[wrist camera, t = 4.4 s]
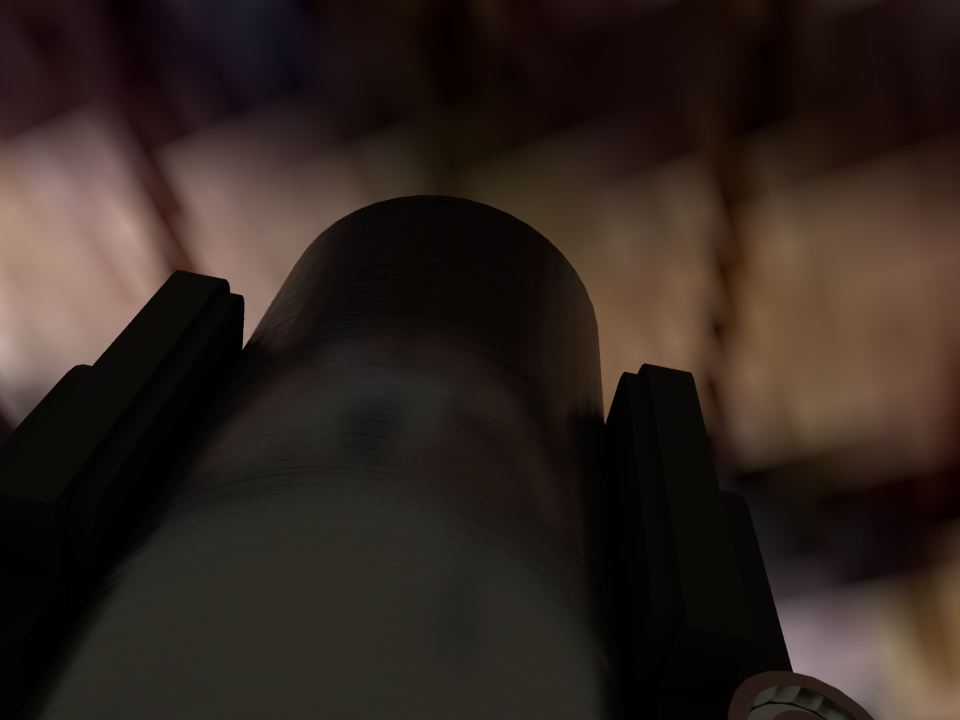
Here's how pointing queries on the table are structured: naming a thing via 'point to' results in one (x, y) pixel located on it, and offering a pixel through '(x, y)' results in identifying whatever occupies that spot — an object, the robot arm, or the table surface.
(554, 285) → the dark grey cylinder
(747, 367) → the table surface
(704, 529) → the robot arm
